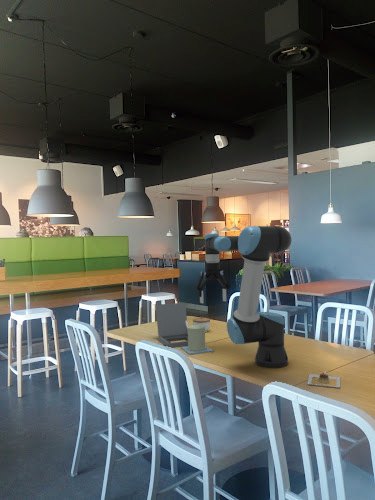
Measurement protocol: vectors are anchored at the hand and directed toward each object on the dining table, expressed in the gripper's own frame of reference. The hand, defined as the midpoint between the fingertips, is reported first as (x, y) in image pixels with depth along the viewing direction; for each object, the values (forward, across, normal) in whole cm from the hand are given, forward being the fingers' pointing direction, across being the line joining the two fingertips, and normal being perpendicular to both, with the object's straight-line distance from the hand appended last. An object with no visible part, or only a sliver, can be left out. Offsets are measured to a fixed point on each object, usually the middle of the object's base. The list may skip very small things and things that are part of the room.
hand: (213, 302), depth 213 cm
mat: (+24, +11, +1) cm, 26 cm away
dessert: (+26, -16, +66) cm, 72 cm away
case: (+24, +14, -20) cm, 34 cm away
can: (+24, +11, +1) cm, 26 cm away
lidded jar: (+24, -9, -36) cm, 44 cm away
